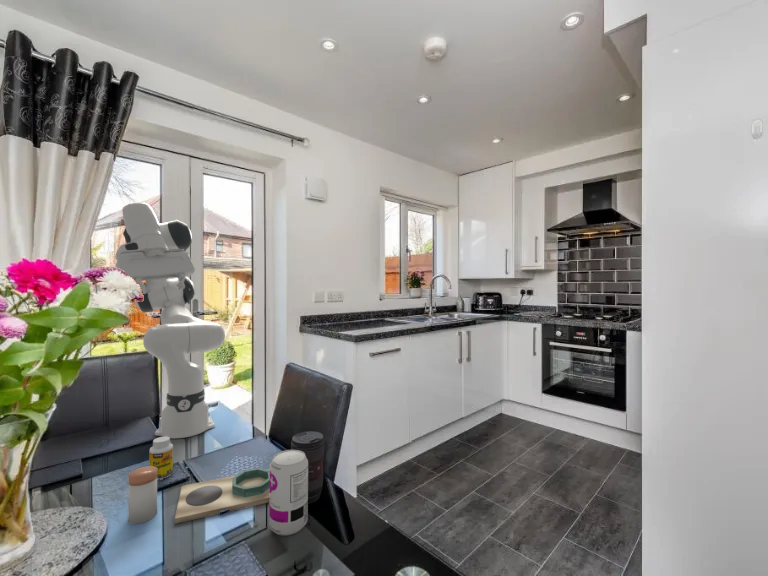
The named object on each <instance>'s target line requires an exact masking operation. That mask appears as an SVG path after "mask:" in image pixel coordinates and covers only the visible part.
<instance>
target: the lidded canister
mask: <svg viewBox="0 0 768 576" xmlns="http://www.w3.org/2000/svg"><path fill="white" fill-rule="evenodd" d="M127 478H128V482H127V484H128V497H127V498H128V501H127V502H128V511H127V512H128V514H127V516H128V517H127V521H128V522H129V524H132V525H134V524H135V525H136V524H142V523H145V522H148V521H150V520H152V519H153V518H154V517H156V515H157V513H158V480H157V467H155V466H149V465H148V466H142V467H138V468H136V469H134V470H131V472H129V474H128V477H127Z"/></svg>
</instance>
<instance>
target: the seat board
mask: <svg viewBox="0 0 768 576" xmlns="http://www.w3.org/2000/svg"><path fill="white" fill-rule="evenodd" d="M267 503H270V468H267V469H264V468H261V467H257V468H252V469H251V468H250V469H246V470H243V471H241V472H239V473H238V474H236V475H231V476H230V475H229V476H226V477H221V478H216V479H215V478H214V479H211V480H205V481H199V482H194V483H189V484H184V485H182V486H181V488H180V493H179V498H178V502H177V507H176V511H175V515H174V516H175V517H174V524H175V525H176V524H179V523H180V524H181V523H185V522H190V521H193V520H194V521H195V520H197V519H202V518H206V517H211V516H215V515H219V514H220V511H222V510H226V509H228V510H230V511H229V512H233V511H237V510H242V509H247V508H250V507H255V506H259V505H263V504H267ZM246 507H247V508H246Z"/></svg>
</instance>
